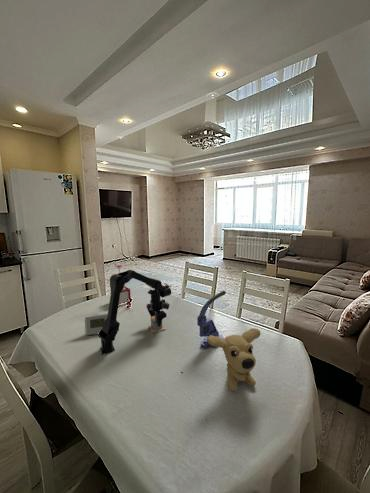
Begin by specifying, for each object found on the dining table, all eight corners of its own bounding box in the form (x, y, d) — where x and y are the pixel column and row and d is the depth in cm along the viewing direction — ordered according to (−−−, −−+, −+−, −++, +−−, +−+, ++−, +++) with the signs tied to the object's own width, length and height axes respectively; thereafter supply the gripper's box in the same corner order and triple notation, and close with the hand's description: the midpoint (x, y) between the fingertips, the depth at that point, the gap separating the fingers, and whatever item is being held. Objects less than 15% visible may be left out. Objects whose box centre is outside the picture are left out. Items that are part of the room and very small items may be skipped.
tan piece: (165, 329, 143) (164, 320, 142) (152, 333, 140) (152, 324, 139) (160, 324, 150) (159, 315, 149) (148, 327, 146) (147, 318, 146)
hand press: (205, 352, 120) (205, 300, 115) (194, 345, 127) (193, 295, 122) (230, 340, 131) (230, 292, 127) (218, 333, 138) (219, 288, 134)
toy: (219, 405, 87) (220, 356, 84) (201, 371, 106) (201, 330, 103) (276, 390, 94) (278, 344, 91) (249, 361, 113) (251, 322, 110)
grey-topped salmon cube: (162, 328, 144) (161, 318, 143) (154, 330, 141) (153, 320, 140) (158, 324, 148) (158, 314, 147) (151, 326, 146) (150, 316, 145)
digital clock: (84, 336, 137) (82, 319, 135) (88, 328, 146) (87, 312, 144) (112, 334, 139) (111, 317, 137) (115, 327, 148) (114, 311, 146)
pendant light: (124, 298, 195) (122, 263, 191) (130, 302, 187) (128, 266, 182) (111, 302, 188) (109, 266, 184) (117, 306, 180) (115, 268, 175)
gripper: (174, 301, 138) (174, 326, 140) (161, 292, 154) (162, 314, 156) (156, 305, 132) (157, 331, 135) (145, 295, 149) (146, 318, 151)
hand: (156, 323), depth 144 cm, fingers open, 9 cm apart
